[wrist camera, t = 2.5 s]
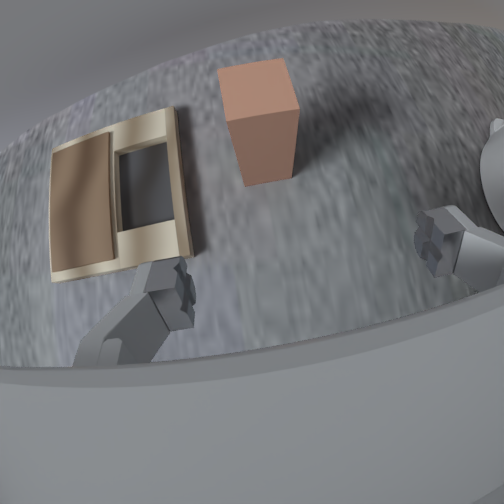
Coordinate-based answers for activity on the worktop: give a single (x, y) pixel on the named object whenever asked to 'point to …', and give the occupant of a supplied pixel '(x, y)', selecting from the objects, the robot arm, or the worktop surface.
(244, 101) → the terracotta block
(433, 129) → the worktop surface
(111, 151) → the hole board
